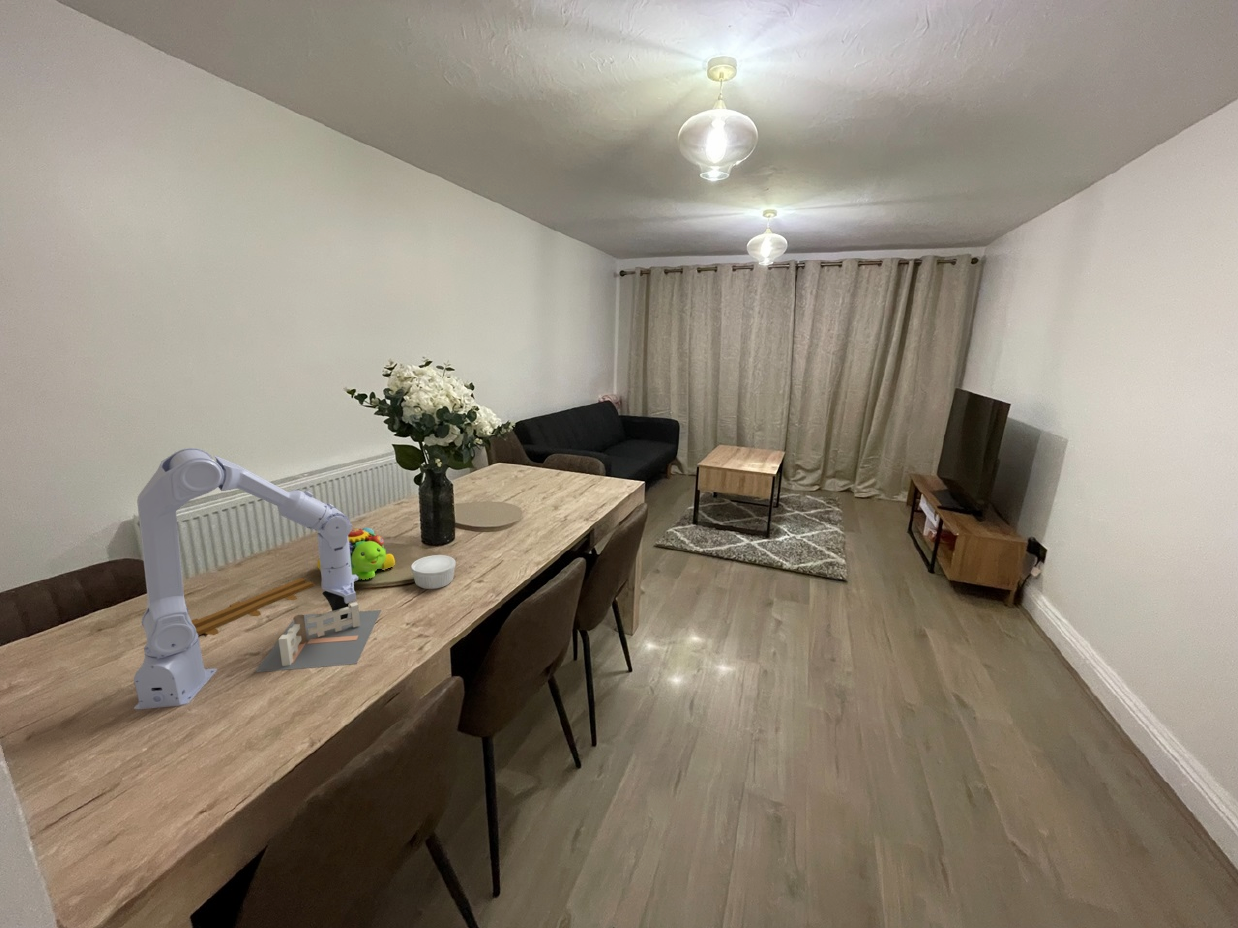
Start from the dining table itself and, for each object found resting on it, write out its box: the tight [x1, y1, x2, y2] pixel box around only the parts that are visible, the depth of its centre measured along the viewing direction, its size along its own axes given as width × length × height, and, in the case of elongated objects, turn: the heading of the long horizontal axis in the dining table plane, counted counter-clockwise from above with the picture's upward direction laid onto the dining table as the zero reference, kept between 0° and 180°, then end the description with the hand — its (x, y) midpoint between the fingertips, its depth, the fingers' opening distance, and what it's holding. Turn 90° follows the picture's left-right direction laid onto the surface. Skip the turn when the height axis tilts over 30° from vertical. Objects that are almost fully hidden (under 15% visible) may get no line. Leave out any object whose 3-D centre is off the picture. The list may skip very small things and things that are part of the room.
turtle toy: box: [317, 527, 396, 581], centre depth 133 cm, size 17×23×12 cm
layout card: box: [253, 609, 382, 674], centre depth 106 cm, size 20×18×1 cm
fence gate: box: [306, 601, 360, 637], centre depth 107 cm, size 10×1×5 cm, turn 128°
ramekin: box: [410, 554, 457, 590], centre depth 132 cm, size 11×11×5 cm
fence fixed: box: [278, 614, 307, 666], centre depth 100 cm, size 9×2×6 cm, turn 12°
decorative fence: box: [191, 577, 315, 637], centre depth 116 cm, size 25×2×10 cm
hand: (341, 618), depth 109 cm, fingers closed
